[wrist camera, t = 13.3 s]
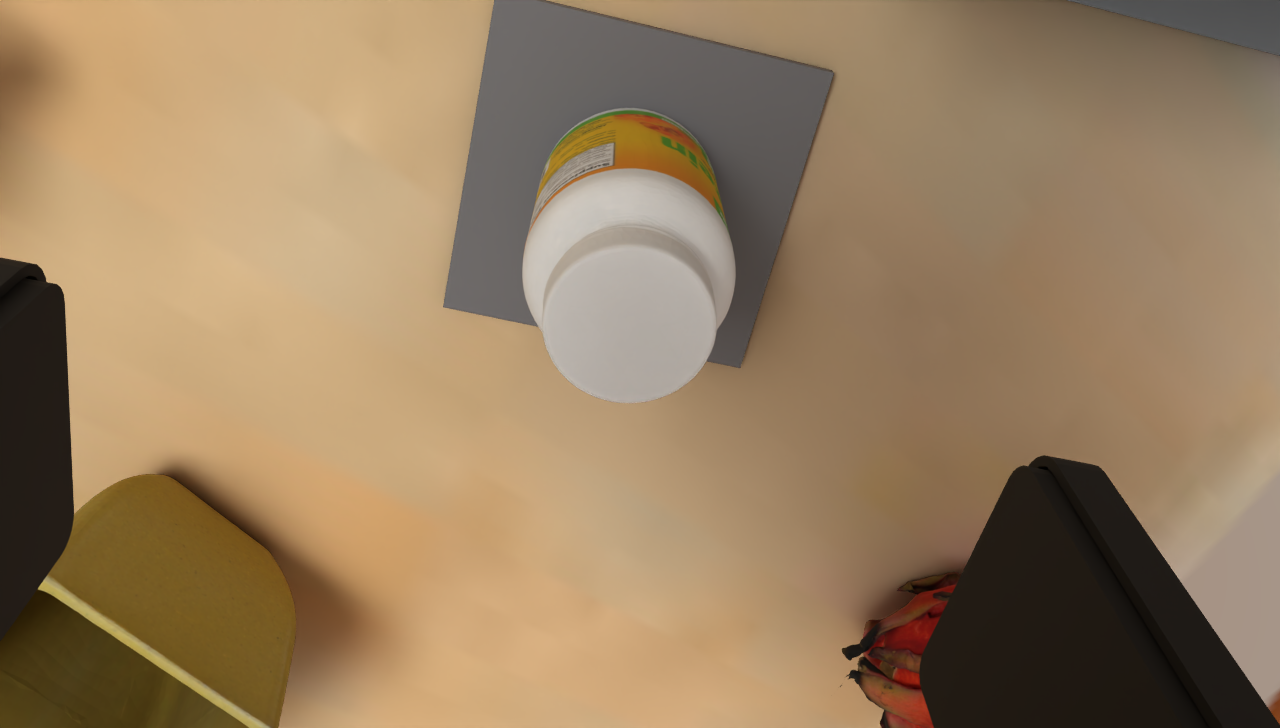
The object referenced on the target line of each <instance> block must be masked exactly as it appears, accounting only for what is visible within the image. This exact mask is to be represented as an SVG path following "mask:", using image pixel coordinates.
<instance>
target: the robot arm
mask: <svg viewBox="0 0 1280 728" xmlns="http://www.w3.org/2000/svg"><path fill="white" fill-rule="evenodd" d="M73 521H74V502H73V480H72V457H71V434H70V411H69V389H68V366H67V343H66V320H65V301H64V294H63V292H62V289H61V287H59V286H58V285H57V284H53V283H48V282H46V278H45V275H44V273H43V271H42V269H41V268H40V267H39V266H38V265H37V264H31V263H26V262H21V261H16V260H10V259H5V258H0V641H1V640H2V639H3V637H4V636H5V634H6V633H7V631H8V630H9V629H10V627H11V626H12V624H13V623H14V622H15V620H16V619H17V617H18V616H19V614H20V613H21V612H22V610H23V609H24V607H25V606H26V605H27V603H28V602H29V600H30V599H31V597H32V596H33V595H34V593H35V592H36V590H37V589H38V588H39V586H40V585H41V583H42V582H43V580H44V579H45V578H46V576H47V575H48V573H49V572H50V571H51V569H52V568H53V566H54V565H55V564H56V562H57V561H58V559H59V558H60V556H61V555H62V553H63V551H64V550H65V548H66V546H67V543H68V541H69V538H70V535H71V531H72V527H73ZM919 679H920V686H921V690H922V693H923V696H924V699H925V702H926V705H927V708H928V711H929V714H930V718H931V721H932V724H933V727H934V728H1280V725H1279V723H1278V722H1277V720H1276V719H1275V718H1274V716H1273V715H1272V713H1271V712H1270V710H1269V709H1268V707H1267V706H1266V705H1265V703H1264V702H1263V700H1262V699H1261V697H1260V696H1259V694H1258V693H1257V692H1256V690H1255V689H1254V687H1253V686H1252V684H1251V683H1250V681H1249V680H1248V679H1247V677H1246V676H1245V674H1244V673H1243V671H1242V670H1241V668H1240V667H1239V666H1238V664H1237V663H1236V661H1235V660H1234V658H1233V657H1232V655H1231V654H1230V653H1229V651H1228V650H1227V648H1226V647H1225V645H1224V644H1223V643H1222V641H1221V640H1220V638H1219V637H1218V635H1217V634H1216V632H1215V631H1214V629H1213V628H1212V627H1211V625H1210V624H1209V622H1208V621H1207V619H1206V618H1205V616H1204V615H1203V614H1202V612H1201V611H1200V609H1199V608H1198V607H1197V605H1196V604H1195V602H1194V601H1193V599H1192V598H1191V596H1190V595H1189V593H1188V592H1187V590H1186V589H1185V588H1184V586H1183V585H1182V583H1181V582H1180V580H1179V579H1178V577H1177V576H1176V575H1175V573H1174V572H1173V570H1172V569H1171V567H1170V566H1169V564H1168V563H1167V562H1166V560H1165V559H1164V557H1163V556H1162V554H1161V553H1160V551H1159V550H1158V549H1157V547H1156V546H1155V544H1154V543H1153V541H1152V540H1151V538H1150V537H1149V536H1148V534H1147V533H1146V531H1145V530H1144V528H1143V527H1142V525H1141V524H1140V523H1139V521H1138V520H1137V518H1136V517H1135V515H1134V514H1133V512H1132V511H1131V510H1130V508H1129V507H1128V505H1127V504H1126V502H1125V501H1124V499H1123V498H1122V497H1121V495H1120V494H1119V492H1118V491H1117V489H1116V488H1115V486H1114V485H1113V484H1112V482H1111V481H1110V479H1109V478H1108V476H1107V475H1106V473H1105V472H1104V471H1103V470H1102V469H1101V468H1100V467H1099V466H1095V465H1092V464H1087V463H1081V462H1076V461H1071V460H1065V459H1060V458H1055V457H1050V456H1040V457H1037V458H1036V459H1035V460H1034V461H1032V462H1031V463H1030V465H1029V466H1020V467H1018V468H1017V469H1016V470H1014V471H1013V473H1012V474H1011V476H1010V477H1009V479H1008V481H1007V483H1006V485H1005V487H1004V489H1003V491H1002V493H1001V495H1000V497H999V500H998V502H997V504H996V506H995V508H994V510H993V512H992V514H991V516H990V518H989V520H988V522H987V524H986V526H985V528H984V530H983V532H982V534H981V536H980V538H979V540H978V542H977V544H976V546H975V548H974V550H973V552H972V554H971V556H970V558H969V560H968V562H967V564H966V566H965V568H964V570H963V572H962V574H961V576H960V578H959V580H958V582H957V584H956V586H955V588H954V590H953V592H952V594H951V596H950V598H949V600H948V602H947V605H946V607H945V609H944V611H943V613H942V615H941V617H940V619H939V621H938V623H937V625H936V627H935V629H934V631H933V633H932V635H931V637H930V639H929V641H928V643H927V645H926V647H925V649H924V651H923V654H922V657H921V662H920V669H919Z"/></svg>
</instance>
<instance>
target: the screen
mask: <svg viewBox="0 0 1280 728" xmlns="http://www.w3.org/2000/svg"><path fill="white" fill-rule="evenodd" d="M1068 1H1072V2H1076V3H1080V4H1084V5H1087V6H1091V7H1095V8H1099V9H1103V10H1106V11H1110V12H1114V13H1118V14H1122V15H1126V16H1129V17H1133V18H1137V19H1141V20H1145V21H1149V22H1152V23H1156V24H1160V25H1164V26H1168V27H1172V28H1175V29H1179V30H1183V31H1187V32H1191V33H1195V34H1198V35H1202V36H1206V37H1210V38H1214V39H1218V40H1221V41H1225V42H1229V43H1233V44H1237V45H1241V46H1244V47H1248V48H1252V49H1256V50H1260V51H1264V52H1267V53H1271V54H1275V55H1279V56H1280V0H1068Z"/></svg>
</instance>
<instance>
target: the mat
mask: <svg viewBox="0 0 1280 728" xmlns="http://www.w3.org/2000/svg"><path fill="white" fill-rule="evenodd" d="M833 75H834V73H833V71H832V70H828V69H824V68H820V67H816V66H812V65H808V64H804V63H800V62H796V61H792V60H788V59H783V58H779V57H775V56H771V55H767V54H763V53H759V52H755V51H751V50H747V49H743V48H738V47H734V46H730V45H726V44H722V43H718V42H714V41H710V40H706V39H702V38H698V37H694V36H689V35H685V34H681V33H677V32H673V31H669V30H665V29H661V28H657V27H653V26H649V25H644V24H640V23H636V22H632V21H628V20H624V19H620V18H616V17H612V16H608V15H604V14H599V13H595V12H591V11H587V10H583V9H579V8H575V7H571V6H567V5H563V4H559V3H555V2H550V1H546V0H494V6H493V12H492V18H491V24H490V30H489V36H488V42H487V48H486V54H485V60H484V66H483V72H482V78H481V83H480V89H479V95H478V101H477V107H476V113H475V119H474V125H473V131H472V137H471V143H470V149H469V155H468V161H467V167H466V173H465V179H464V185H463V191H462V197H461V203H460V209H459V215H458V221H457V227H456V233H455V239H454V245H453V251H452V257H451V263H450V269H449V275H448V281H447V287H446V293H445V299H444V305H443V307H445V308H450V309H455V310H460V311H464V312H469V313H474V314H479V315H484V316H489V317H494V318H499V319H503V320H508V321H513V322H518V323H523V324H528V325H533V326H538V325H537V323H536V322H535V320H534V318H533V316H532V314H531V312H530V309H529V307H528V304H527V301H526V298H525V293H524V288H523V278H522V268H523V255H524V249H525V244H526V240H527V236H528V232H529V228H530V223H531V218H532V215H533V211H534V206H535V201H536V197H537V193H538V188H539V183H540V180H541V176H542V173H543V170H544V167H545V165H546V162H547V160H548V158H549V156H550V154H551V152H552V150H553V149H554V147H555V146H556V144H557V143H558V142H559V140H560V139H561V138H562V137H563V136H564V135H565V134H566V133H567V132H568V131H569V130H570V129H571V128H573V127H574V126H575V125H577V124H578V123H579V122H581V121H583V120H585V119H587V118H589V117H591V116H593V115H595V114H598V113H601V112H604V111H608V110H612V109H618V108H639V109H646V110H650V111H654V112H657V113H660V114H662V115H665V116H667V117H669V118H671V119H673V120H674V121H676V122H678V123H679V124H681V125H682V126H683V127H684V128H686V129H687V130H688V131H689V132H690V133H691V134H692V135H693V136H694V137H695V138H696V139H697V140H698V142H699V143H700V145H701V146H702V147H703V149H704V151H705V152H706V154H707V156H708V158H709V160H710V163H711V166H712V168H713V171H714V174H715V178H716V182H717V187H718V191H719V195H720V199H721V203H722V207H723V211H724V215H725V219H726V223H727V227H728V231H729V235H730V238H731V242H732V246H733V252H734V258H735V267H736V278H735V287H734V293H733V297H732V301H731V304H730V307H729V310H728V312H727V314H726V317H725V318H724V320H723V322H722V323H721V325H720V326H719V328H718V329H717V332H716V338H715V342H714V346H713V348H712V351H711V353H710V355H709V357H708V359H707V361H708V362H713V363H718V364H723V365H728V366H732V367H737V368H740V367H741V364H742V361H743V357H744V354H745V351H746V348H747V345H748V342H749V339H750V335H751V332H752V329H753V326H754V323H755V320H756V317H757V313H758V310H759V307H760V304H761V301H762V298H763V295H764V291H765V288H766V285H767V282H768V279H769V276H770V273H771V269H772V266H773V263H774V260H775V257H776V254H777V251H778V247H779V244H780V241H781V238H782V235H783V232H784V229H785V226H786V222H787V219H788V216H789V213H790V210H791V207H792V204H793V200H794V197H795V194H796V191H797V188H798V185H799V182H800V178H801V175H802V172H803V169H804V166H805V163H806V160H807V156H808V153H809V150H810V147H811V144H812V141H813V138H814V134H815V131H816V128H817V125H818V122H819V119H820V116H821V112H822V109H823V106H824V103H825V100H826V97H827V94H828V90H829V87H830V84H831V81H832V78H833Z"/></svg>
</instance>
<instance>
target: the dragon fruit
mask: <svg viewBox="0 0 1280 728" xmlns="http://www.w3.org/2000/svg"><path fill="white" fill-rule="evenodd" d="M959 578H960V575H959V573H958V572H952V573H947V574H944V575H939V576H931V577H927V578H924V579H921V580H918V581H912V582H907V583H906V585H905V586H903V587H901V588H899V589H898V590H897V591H908V592H911V593H915V594H917V595H916V596H915V597H914V598H913V599H912V600H911V601H910V602H909V603H908V604H907V605H906V606H904V607H903V608H901V609H900V610H899V611H897V612H895V613H894V614H892V615H890V616H889V617H887V618H885V619H882V620H869V621H868V622H866V625H865V629H864V634H863V639H862V640H861V642H860V644H857V645H850V646H848V647H847V648H842V653H843V654H844V655H845V656H846V658H847V659H848V660H851V659H852V658H854V657H857V656H859V655H861V653H863V654H864V657H860V658H859V661H858V671H856V670H851V672H850V674H849V675H850V676H849V675H847V676H849V679H850V678H853V679H855V680H854V681H855V682H856V683H857V684H859V686H860V688H861V689H862V691H863V692H864V693H865V695H866V697H867V698H868V700H870V701H872V702H873V703H875V704H876V705H877V706H879V707H881V708H882V709H884V712H883V715H882V719H881V721H880V725H881V727H882V728H934V727H933V724H932V721H931V718H930V714H929V711H928V708H927V705H926V702H925V699H924V696H923V693H922V690H921V686H920V679H919V669H920V662H921V657H922V654H923V651H924V649H925V647H926V645H927V643H928V641H929V639H930V637H931V635H932V633H933V631H934V629H935V627H936V625H937V623H938V621H939V619H940V617H941V615H942V613H943V611H944V609H945V607H946V605H947V602H948V600H949V598H950V596H951V594H952V592H953V590H954V588H955V586H956V584H957V582H958V580H959ZM847 676H846V677H847ZM841 686H842V685H841ZM841 686H840V687H841ZM831 696H832V695H831Z"/></svg>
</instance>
